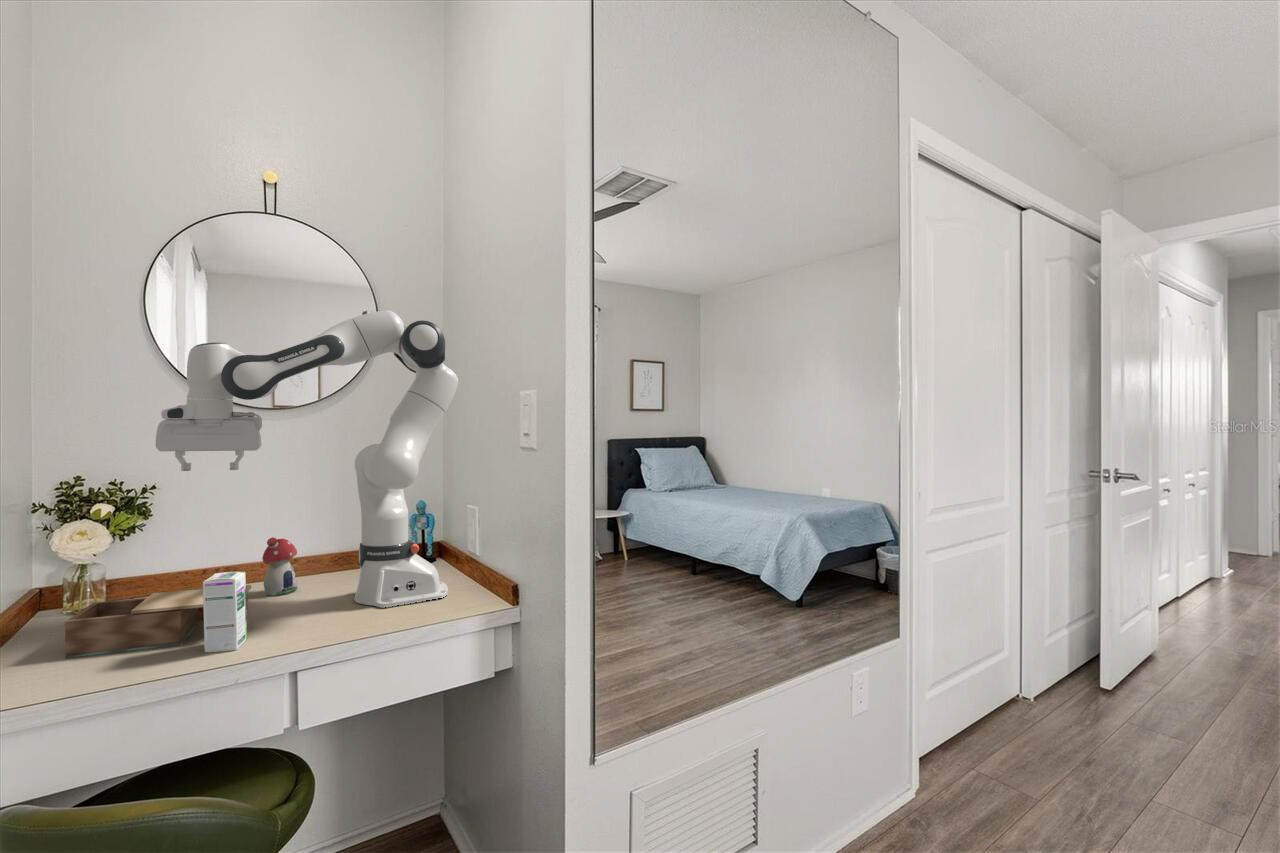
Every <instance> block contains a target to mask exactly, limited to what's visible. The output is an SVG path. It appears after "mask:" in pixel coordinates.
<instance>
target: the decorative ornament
mask: <svg viewBox="0 0 1280 853" xmlns="http://www.w3.org/2000/svg"><path fill="white" fill-rule="evenodd" d="M266 545H267V547H266V548H265V550H264V552H263V554H262V562H263V564H265V565H268V566H267V567H268V568H267V570H266V572H265V573H264V574H265V575H264V577H263V578H264V579H263V588H264V592H265V594H266V595H267V596H275V597H280V596H284V595H289V594H292V593H295V592H296V590H297V589H298V586H299V583H298V581H297V579H296V573H295V569H294V567H293V566H292V564H291V562H290V560H292V559H293V558H294V557H295V556H297V554H298V550H297V547H296V546H295V545H294V544H293V543H292V542H291V541H290V540H288V539H286V538H276V537H270V538H269V539H267V541H266Z"/></svg>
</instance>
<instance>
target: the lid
mask: <svg viewBox="0 0 1280 853" xmlns="http://www.w3.org/2000/svg"><path fill="white" fill-rule="evenodd" d="M251 589H252V585H251V584H247V585H246V595H247V594H248V593H249V591H250V590H251ZM145 598H146V599H145V600H144V601H143V602H141V603H140V604H139V605H138V606H137V607H135V608H134V609H133V610H132V611H131V614H136V613H146V612H157V611H167V610H178V609H188V608H199V607H203V588H198V589H188V590H187V589H185V590H176V591H175V590H174V591H162V592H153V593H151V595H149V596H148V597H145Z"/></svg>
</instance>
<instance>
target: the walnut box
mask: <svg viewBox="0 0 1280 853" xmlns="http://www.w3.org/2000/svg"><path fill="white" fill-rule="evenodd" d="M146 598H147V597H141V598H130V599H118V600H116V599H115V600H106V601H97V602H96V601H94V602H92V603H90V604H89V605H88V606H86V607H85V608H83V609H82V610H80V611H79V612H77V613H76V614H74V615H73V616H71V617H70V618H68V619H67V620H65V621H64V646H65V648H64V650H65V652H64V654H65V655H64V656H65V659H69V657H71V658H78V656H79V657H86V655H88V656H95V654H97V655H104V654H113V653H122V652H130V651H140V650H147V649H149V648H150V649H156V648H157V649H158V648H165V647H173V646H174V647H175V645H176V646H181V645H182V644H183V643H184V642H185V641H186V639H188V637H189V636H190V635H191V633H192V632H193V631H195V629H196V628H197V627H198V625H199V622H198V608H188V609H178V610H167V611H157V612H146V613H136V614H131V611H132V610H133V609H134V608H135V607H137V606H138V605H139V604H140V603H141V602H143V601H144V600H145V599H146ZM150 649H149V650H150Z"/></svg>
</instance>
